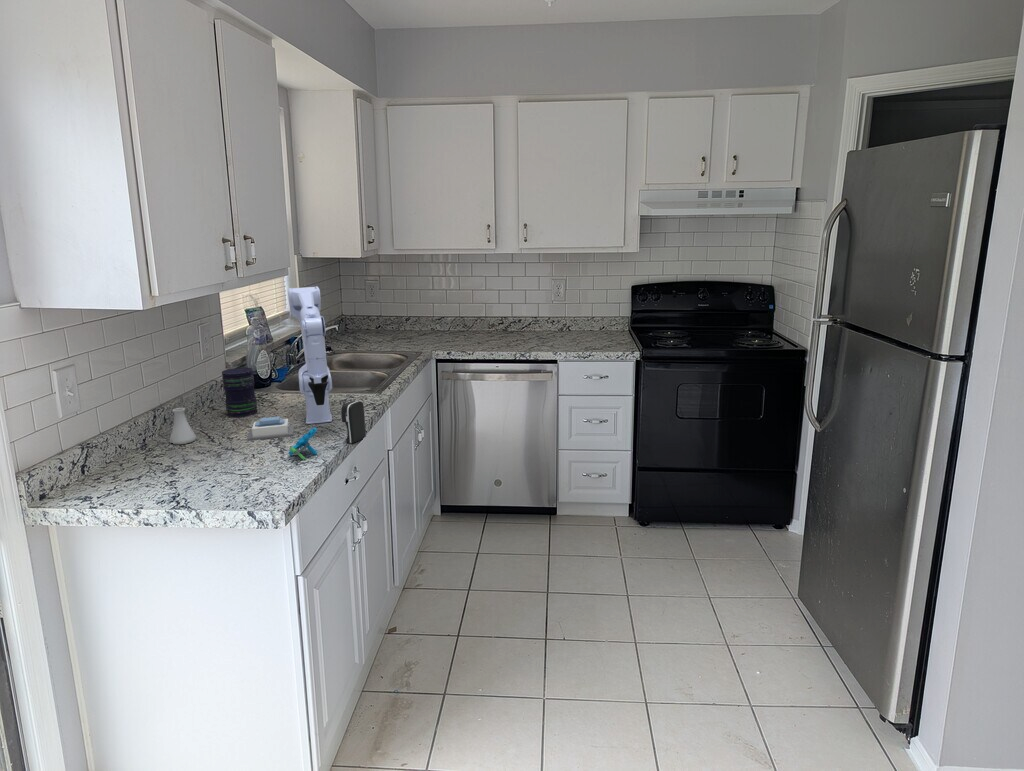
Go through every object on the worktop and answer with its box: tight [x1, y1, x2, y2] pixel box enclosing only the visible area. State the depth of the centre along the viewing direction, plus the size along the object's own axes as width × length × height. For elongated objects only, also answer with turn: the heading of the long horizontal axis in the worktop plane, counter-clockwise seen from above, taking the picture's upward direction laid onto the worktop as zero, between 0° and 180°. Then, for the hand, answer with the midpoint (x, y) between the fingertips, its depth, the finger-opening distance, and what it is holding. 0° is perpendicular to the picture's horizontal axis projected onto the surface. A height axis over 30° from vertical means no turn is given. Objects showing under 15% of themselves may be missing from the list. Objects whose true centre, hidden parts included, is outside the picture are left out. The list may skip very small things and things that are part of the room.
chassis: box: [246, 418, 295, 441], centre depth 212 cm, size 10×13×3 cm
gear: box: [287, 427, 318, 461], centre depth 191 cm, size 11×6×10 cm
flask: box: [168, 407, 198, 445], centre depth 206 cm, size 7×7×10 cm
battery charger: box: [340, 400, 367, 444], centre depth 202 cm, size 7×4×11 cm, turn 157°
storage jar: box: [221, 367, 258, 419], centre depth 235 cm, size 10×10×15 cm
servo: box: [255, 416, 286, 427], centre depth 212 cm, size 4×8×4 cm, turn 105°
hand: (320, 401), depth 211 cm, fingers open, 7 cm apart
